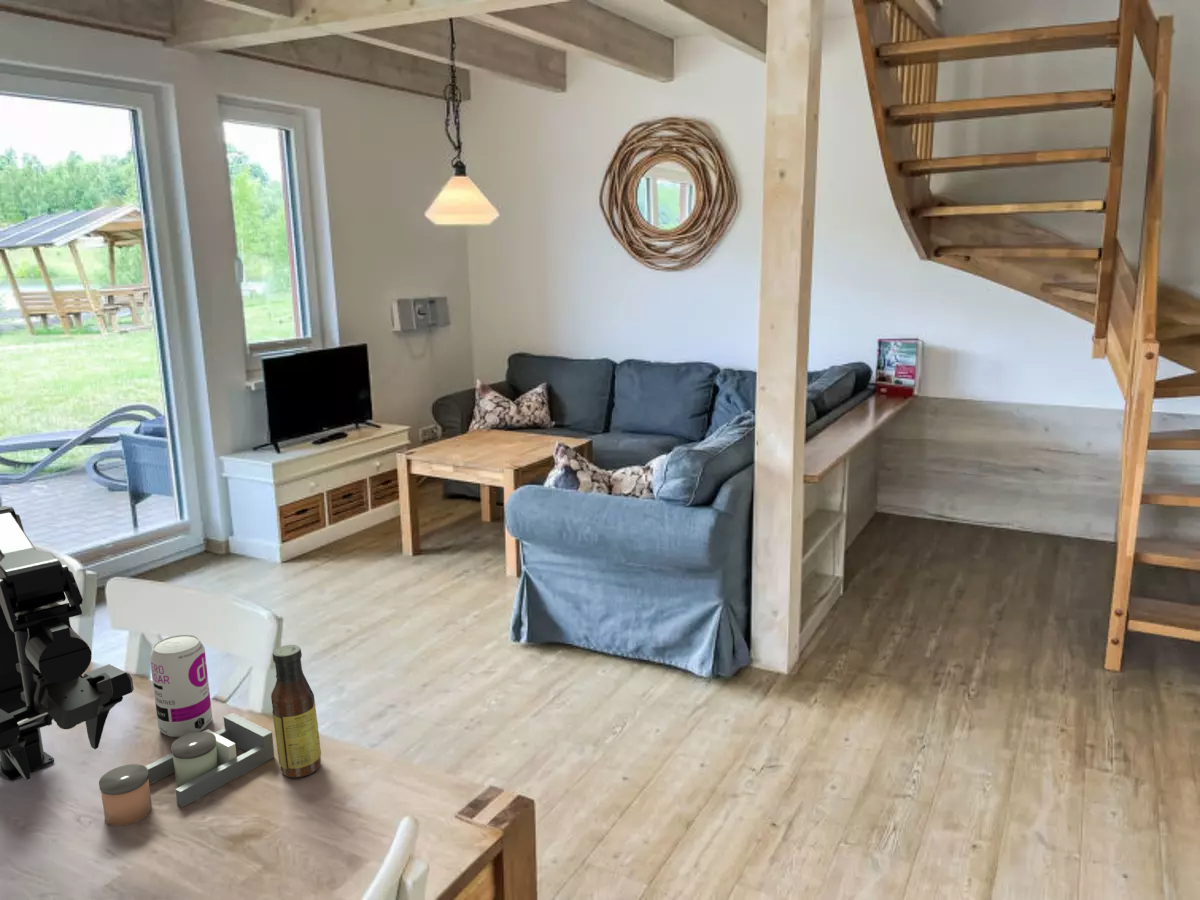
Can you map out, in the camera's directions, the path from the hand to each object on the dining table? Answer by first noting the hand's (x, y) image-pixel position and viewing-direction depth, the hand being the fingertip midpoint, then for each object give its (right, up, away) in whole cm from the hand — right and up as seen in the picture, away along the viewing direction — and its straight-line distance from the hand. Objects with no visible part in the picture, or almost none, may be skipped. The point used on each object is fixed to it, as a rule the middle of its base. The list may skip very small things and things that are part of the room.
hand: (61, 763), depth 121 cm
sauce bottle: (+25, -8, +20) cm, 33 cm away
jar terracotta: (+4, -10, +9) cm, 14 cm away
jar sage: (+10, -8, +18) cm, 22 cm away
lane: (+11, -8, +19) cm, 23 cm away
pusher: (+12, -7, +21) cm, 25 cm away
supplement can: (+2, -5, +32) cm, 32 cm away
